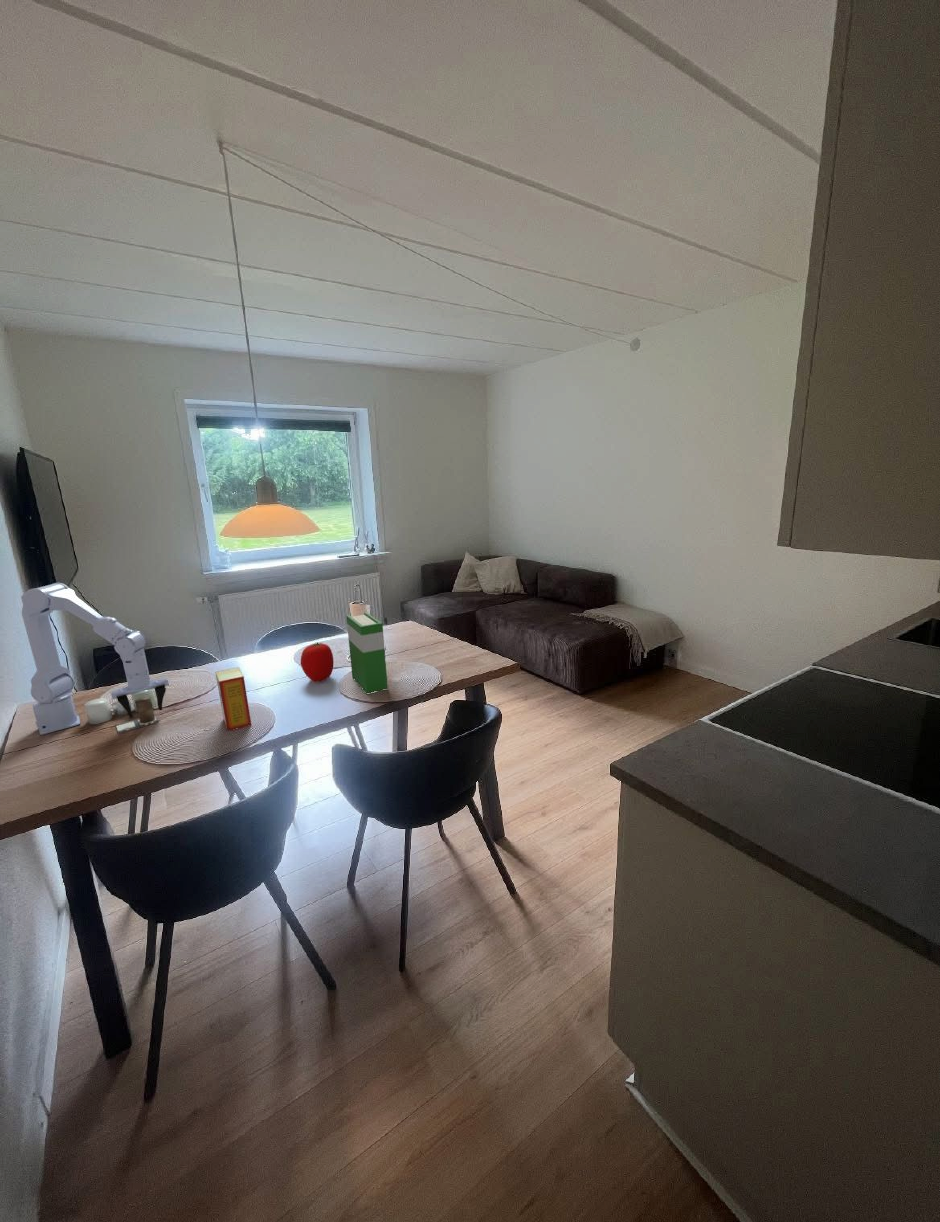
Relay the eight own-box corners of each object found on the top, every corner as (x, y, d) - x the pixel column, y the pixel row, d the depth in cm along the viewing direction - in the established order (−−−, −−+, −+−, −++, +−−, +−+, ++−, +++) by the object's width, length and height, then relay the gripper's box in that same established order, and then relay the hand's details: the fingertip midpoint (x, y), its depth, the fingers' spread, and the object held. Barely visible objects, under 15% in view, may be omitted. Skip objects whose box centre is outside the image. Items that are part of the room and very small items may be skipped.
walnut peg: (141, 724, 148) (136, 703, 146) (138, 720, 151) (133, 699, 149) (156, 719, 151) (151, 698, 149) (153, 715, 153) (148, 695, 152)
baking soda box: (223, 719, 150) (215, 670, 146) (246, 713, 154) (238, 665, 150) (227, 731, 143) (218, 680, 139) (251, 725, 146) (243, 675, 142)
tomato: (329, 685, 173) (325, 648, 170) (298, 686, 173) (293, 648, 170) (339, 672, 185) (336, 637, 182) (310, 673, 186) (305, 637, 182)
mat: (118, 733, 143) (118, 732, 143) (115, 725, 148) (115, 724, 148) (158, 722, 150) (157, 721, 150) (153, 714, 155) (153, 714, 155)
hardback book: (352, 677, 180) (346, 615, 174) (371, 673, 183) (366, 612, 177) (367, 694, 165) (360, 626, 159) (387, 689, 168) (382, 623, 162)
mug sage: (136, 713, 156) (132, 696, 155) (132, 706, 162) (128, 689, 160) (157, 707, 160) (154, 690, 159) (153, 700, 166) (150, 684, 164)
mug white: (89, 726, 149) (85, 708, 147) (87, 718, 154) (83, 700, 153) (113, 719, 152) (109, 702, 151) (110, 712, 158) (106, 695, 156)
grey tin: (115, 717, 154) (112, 707, 153) (113, 712, 158) (111, 702, 157) (133, 712, 157) (131, 702, 156) (131, 708, 161) (128, 698, 160)
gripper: (109, 682, 139) (119, 725, 143) (167, 669, 148) (175, 709, 152) (106, 675, 144) (116, 717, 148) (162, 663, 154) (170, 702, 157)
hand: (146, 713), depth 150 cm, fingers open, 7 cm apart
